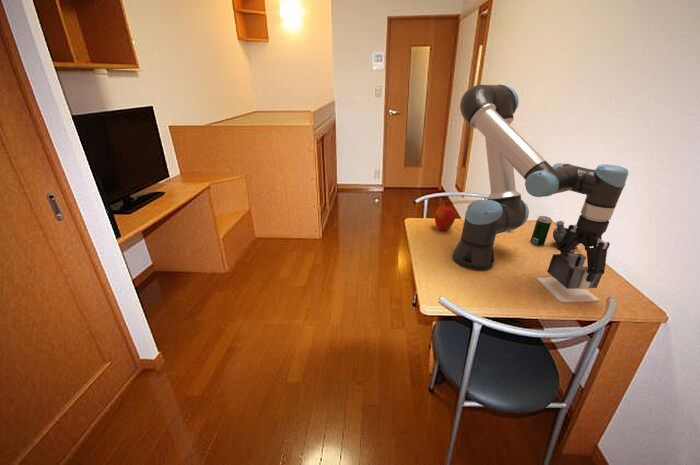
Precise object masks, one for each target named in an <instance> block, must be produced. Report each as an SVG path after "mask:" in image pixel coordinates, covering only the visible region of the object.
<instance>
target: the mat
mask: <svg viewBox="0 0 700 465" xmlns="http://www.w3.org/2000/svg"><path fill="white" fill-rule="evenodd" d="M535 280H536V281H537V282H538V283H539V284H540V285H541V286H543V288H544V289H546V290H547V292H549V293H550V294H551V295H552V296H553V297H554V298H555V299H556V300H557V301H559V303H562V302H563V303H584V302H585V303H586V302H588V303H589V302H599V298H598V297H596V296H594V295H593V293H591V292H590V291H589V290H588V289H567V288H566V287H565V286H563V285H562V284H561V283H560V282H559V281H557V280H556V279H555V278H554V277H553V276H551V277H536V278H535Z"/></svg>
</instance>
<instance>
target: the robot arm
mask: <svg viewBox="0 0 700 465" xmlns="http://www.w3.org/2000/svg"><path fill="white" fill-rule="evenodd" d="M459 103H460V104H459V109H460V113H461V116H462V117H463V119H464V121H465V122H466V123H467V124H468V125H469V127H471V128H472V129H477V130H478V131H479V132H480V133H481V134H482V135H483V136H484V139H485V149H486V160H487V168H488V175H489V176H488V177H489V187H490V194H489V196H488V197H487V198H486V199H477V200H474V201H472V202H470V203H469V205H468V206H467V209H466V210H465V214H464V221H463V227H462V232H461V237H460V239H459V240H460V241H458V243H457V244H456V247H455V248H454V249H453V252H452V260H453V261H454V263H455V264H456V265H458V266H460V267H463V268H465V269H467V270H469V271H470V270H471V271H477V272H484V271H488V270H491V269H492V268H493V267H494V264H495V253H494V243H495V241H496V237H497V235H499V234H501V233H507V232H506V231H509V230H511V231H513V230H517V229H518V228H520V227H522V226H523V225H524V224H525V223H526V222H527V220H528V218H529V214H530V209H529V206H528V204H527V203H526V202H525V201H524V200H523V199H522V193H520V192H519V191H517V189H516V181H515V180H516V179H515V172H514V171H515V170H516V171H517V173H518V174H519V175H520V177H522V178H523V179H524V180H525V181H524V186H525V190H526V192H527V194H529V195H530V196H532V197H535V198H542V197H550V196H552V195H556V194H560V193H565V192H568V191H569V192H573V193H577V194H582V195H586V197H585V199H584V202H583V206H582V208H581V210H580V215H579V216H578V218H577V219H578V220H577V222H576V224H569V225H568V227H567V228H568V231H567V232H566V234H565V235H564V237H563V238H562V240H561V241H560V243H559V244H558V246H557V247H556V248H557V249H559V250H560V251H559V252H560V253H559V254H569V253H571V250H574V249H575V248H577V246H579V245H582V246H583V247H584V250H585V251H586V262H587V267H588V270H586V271H585V273H584V275H583V278H582V280H581V283H580V285H579V289H586V290H589V289H590V288H589V286H590V283H591V282H593V280H594V278H595V276H596V274H602V275H604V274H605V271H606V270H605V269H606V263H607V262H606V261H607V254H608V249H609V247H610V245H611V244H610V242H609V241H604V240H602V235H603V234H604V233H605V232H607V230H608V226H609V224H610V220H611V219H612V216H613V214H614V211H615V209H616V207H617V203H618V202H619V199H620V196H621V195H622V193H623V190H624V187H625V186H626V182H627V180H628V179H627V178H628V176H629V170H628V169H627V168H626V167H625V166H621V165H615V164H599V165H598V166H597V167H596V168H595V169H592V168H587V167H582V166H578V165H573V164H571V163H562V162H558V163H555V164H553V165H551V164H550V163H549V162H548V161H546V159H544V157H543V156H542V155H541V154H539V152H538V151H536V149H535V148H533V146H532V145H531V144H530V143H529V142H527V140H526V139H525V138H524V137H522V135H521V134H519V132H517V131H516V129H515V128H514V127H512V126H511V124H512V122H513V121H514V119H515V118H514V114H515V113H516V111H517V109H518V107H519V103H520V102H519V96H518V93H517V92H516V90H515V89H514V88H513V87H511V86H508V85H504V84H476V85H473V86H472V87H469V88H468V89H467V90H466V91H465V92H464V94H463V95H462V97H461V98H460V102H459ZM575 234H576V236H575ZM574 236H575V237H574ZM593 268H594V269H593Z"/></svg>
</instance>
